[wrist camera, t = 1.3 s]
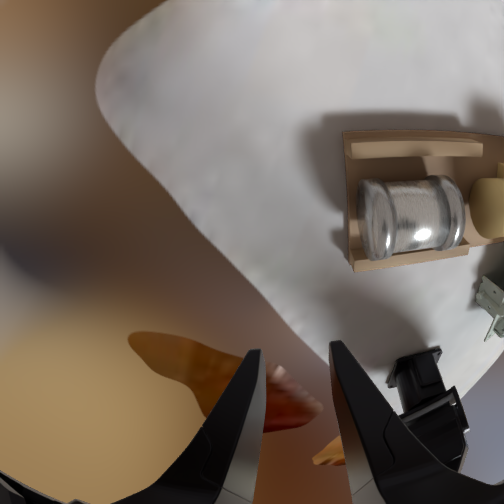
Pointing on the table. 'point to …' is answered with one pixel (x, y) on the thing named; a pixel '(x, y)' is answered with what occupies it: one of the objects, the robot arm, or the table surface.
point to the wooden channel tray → (418, 168)
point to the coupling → (409, 215)
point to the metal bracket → (492, 306)
